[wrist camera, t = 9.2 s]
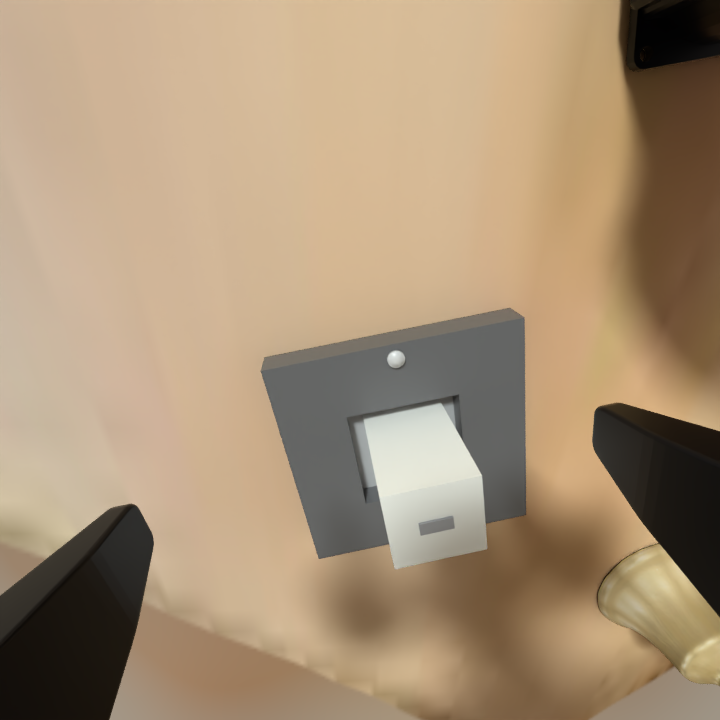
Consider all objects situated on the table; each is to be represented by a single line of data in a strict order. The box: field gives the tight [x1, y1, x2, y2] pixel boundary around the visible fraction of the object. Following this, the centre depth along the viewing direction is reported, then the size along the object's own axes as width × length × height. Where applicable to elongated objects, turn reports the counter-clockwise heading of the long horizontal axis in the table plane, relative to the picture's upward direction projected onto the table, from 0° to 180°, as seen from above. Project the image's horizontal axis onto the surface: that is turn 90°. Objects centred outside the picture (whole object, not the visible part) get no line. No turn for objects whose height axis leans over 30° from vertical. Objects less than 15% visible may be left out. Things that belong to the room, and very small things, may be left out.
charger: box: [363, 399, 487, 569], centre depth 19 cm, size 4×4×6 cm
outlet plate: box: [261, 308, 526, 559], centre depth 21 cm, size 12×12×2 cm
